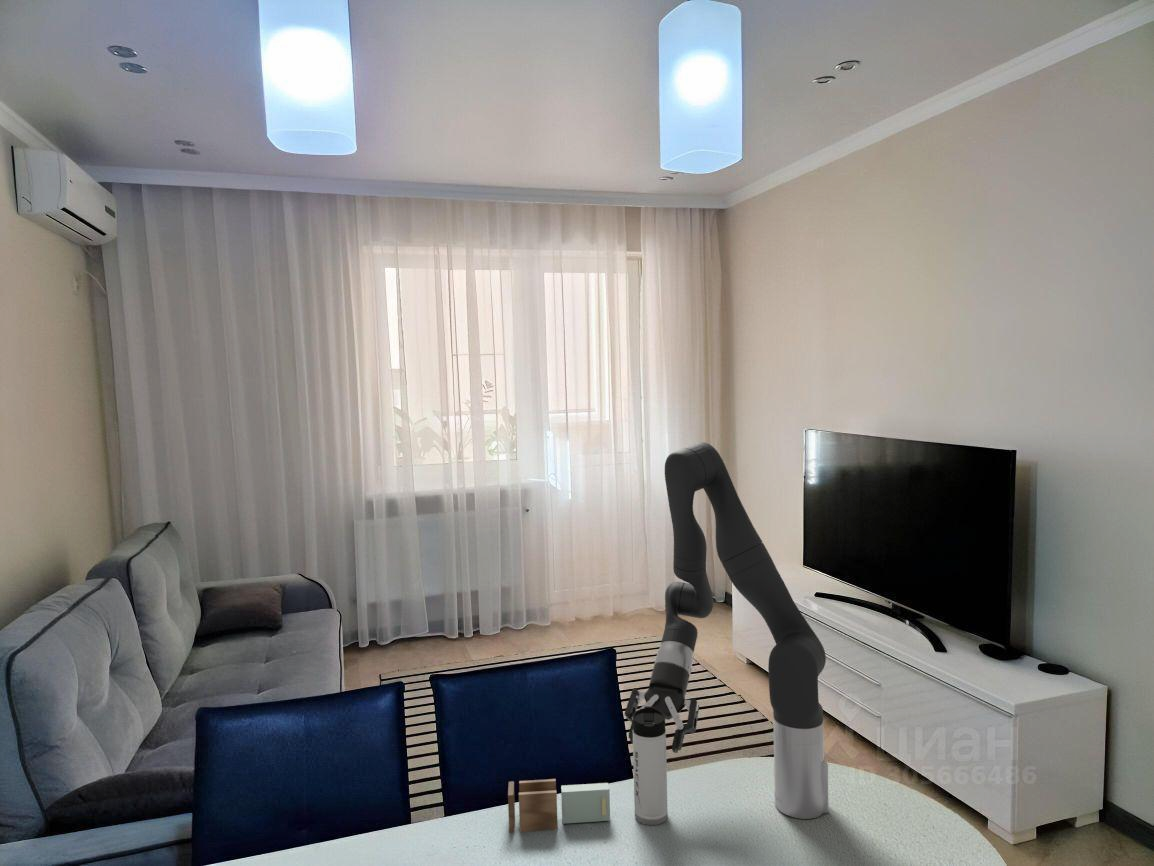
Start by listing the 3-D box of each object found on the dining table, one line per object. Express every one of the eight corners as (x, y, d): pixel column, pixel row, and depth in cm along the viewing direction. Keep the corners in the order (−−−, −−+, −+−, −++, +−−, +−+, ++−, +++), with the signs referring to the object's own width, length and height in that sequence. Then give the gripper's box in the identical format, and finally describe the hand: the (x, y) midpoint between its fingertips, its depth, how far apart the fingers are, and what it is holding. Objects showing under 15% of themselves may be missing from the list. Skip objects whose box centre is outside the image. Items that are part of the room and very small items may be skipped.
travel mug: (667, 807, 143) (664, 705, 142) (668, 826, 136) (665, 720, 136) (635, 806, 143) (632, 705, 143) (634, 825, 137) (631, 720, 136)
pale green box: (608, 813, 140) (608, 782, 140) (610, 822, 138) (609, 791, 137) (562, 816, 140) (561, 785, 140) (562, 825, 137) (561, 793, 137)
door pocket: (556, 814, 141) (555, 778, 141) (557, 829, 136) (556, 792, 136) (509, 817, 141) (508, 781, 140) (509, 832, 136) (507, 795, 135)
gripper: (635, 655, 152) (614, 732, 142) (701, 665, 146) (684, 746, 136) (644, 672, 157) (625, 747, 147) (709, 682, 151) (693, 761, 141)
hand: (653, 747), depth 142 cm, fingers open, 8 cm apart
